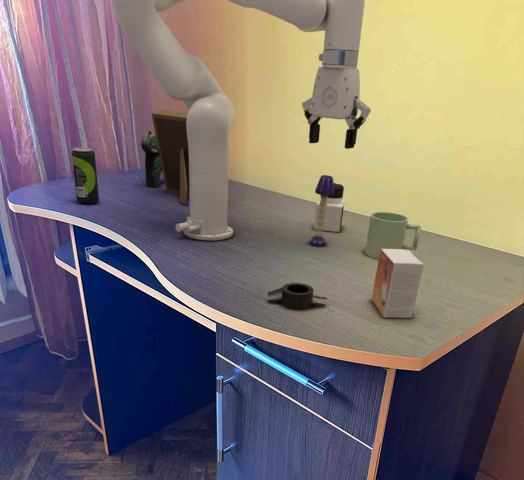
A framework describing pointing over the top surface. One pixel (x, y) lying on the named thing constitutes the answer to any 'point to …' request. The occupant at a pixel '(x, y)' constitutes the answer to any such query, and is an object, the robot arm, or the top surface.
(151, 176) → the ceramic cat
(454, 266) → the top surface
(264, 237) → the top surface
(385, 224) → the mug
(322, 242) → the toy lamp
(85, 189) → the beverage can
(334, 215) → the medicine bottle
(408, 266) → the small box
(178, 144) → the photo frame
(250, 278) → the top surface
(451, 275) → the top surface
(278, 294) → the black ring with tabs
